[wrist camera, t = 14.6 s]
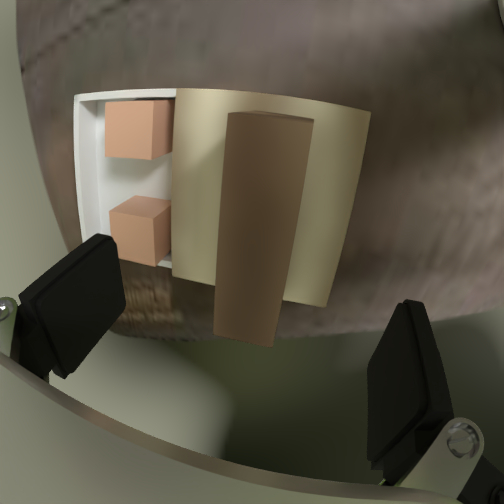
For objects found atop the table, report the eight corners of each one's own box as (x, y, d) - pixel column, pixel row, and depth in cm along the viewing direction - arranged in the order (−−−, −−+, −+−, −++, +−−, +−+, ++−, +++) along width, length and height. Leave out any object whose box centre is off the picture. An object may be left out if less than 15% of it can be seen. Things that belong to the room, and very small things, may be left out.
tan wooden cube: (153, 218, 21) (108, 211, 22) (155, 266, 23) (113, 256, 23) (176, 201, 24) (135, 195, 25) (175, 244, 26) (137, 236, 27)
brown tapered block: (314, 118, 16) (313, 124, 11) (284, 290, 22) (272, 347, 17) (255, 110, 17) (228, 112, 12) (237, 280, 23) (213, 334, 17)
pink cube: (153, 100, 17) (105, 102, 18) (151, 159, 19) (104, 156, 20) (179, 99, 21) (135, 100, 21) (176, 150, 22) (133, 147, 23)
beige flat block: (361, 111, 19) (371, 112, 16) (325, 279, 26) (325, 307, 22) (198, 89, 21) (176, 88, 17) (190, 252, 27) (172, 276, 24)
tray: (198, 89, 21) (182, 88, 18) (190, 252, 27) (177, 269, 25) (96, 93, 22) (74, 95, 19) (101, 234, 28) (83, 247, 26)
